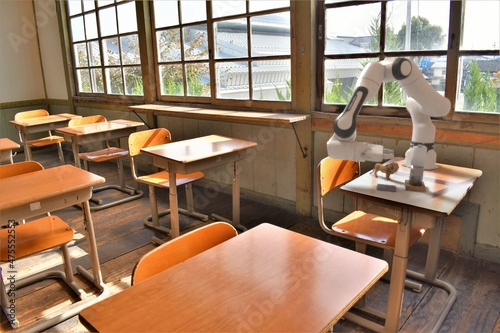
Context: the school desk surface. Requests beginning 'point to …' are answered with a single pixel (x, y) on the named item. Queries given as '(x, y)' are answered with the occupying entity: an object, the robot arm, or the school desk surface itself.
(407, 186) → the caddy
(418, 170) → the flask
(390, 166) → the lion figurine
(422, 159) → the white canister
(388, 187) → the coaster
